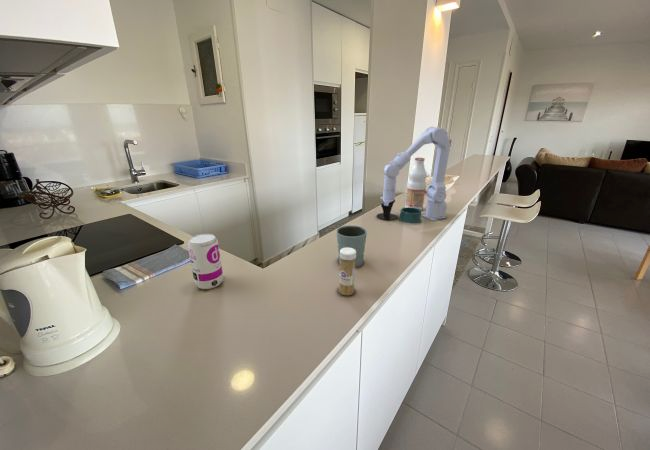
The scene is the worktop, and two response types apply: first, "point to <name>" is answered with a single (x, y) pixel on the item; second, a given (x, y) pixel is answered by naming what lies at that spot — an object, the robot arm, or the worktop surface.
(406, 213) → the pot
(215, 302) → the worktop surface
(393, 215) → the lid
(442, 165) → the robot arm
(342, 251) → the sprinkles bottle
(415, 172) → the fruit juice
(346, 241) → the grey green cup
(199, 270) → the supplement can
